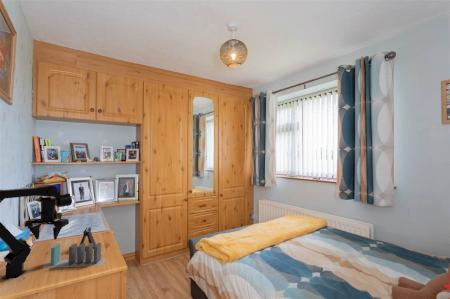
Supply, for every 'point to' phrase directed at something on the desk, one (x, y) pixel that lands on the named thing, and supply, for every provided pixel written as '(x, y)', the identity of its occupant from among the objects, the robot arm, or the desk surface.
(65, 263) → the mat
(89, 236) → the phone stand
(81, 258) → the domino
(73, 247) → the domino
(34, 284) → the desk surface
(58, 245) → the domino
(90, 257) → the domino
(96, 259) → the domino
